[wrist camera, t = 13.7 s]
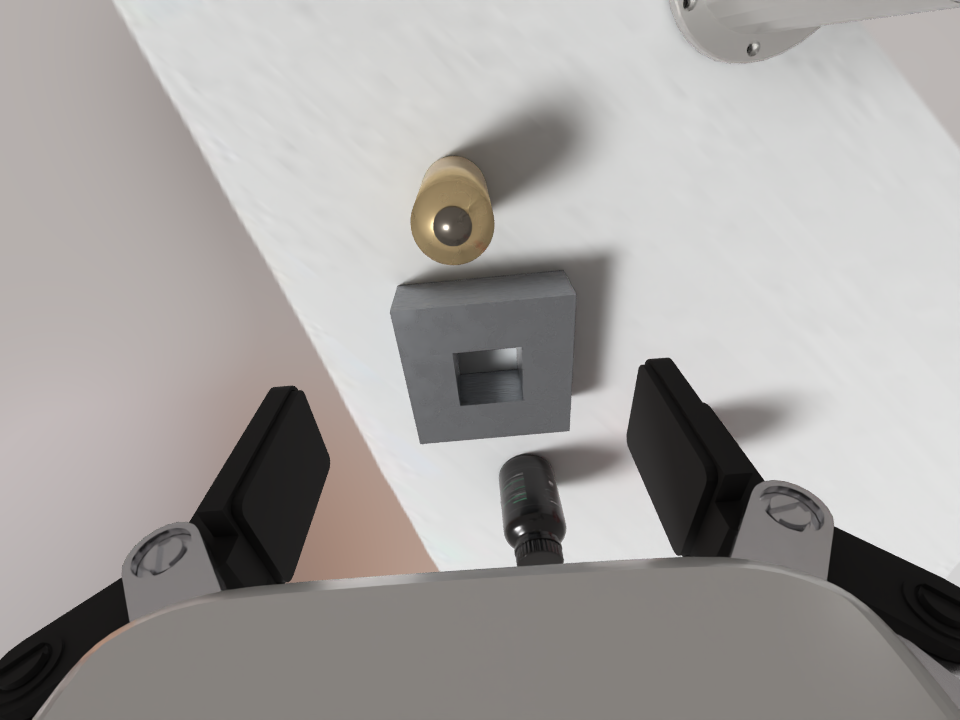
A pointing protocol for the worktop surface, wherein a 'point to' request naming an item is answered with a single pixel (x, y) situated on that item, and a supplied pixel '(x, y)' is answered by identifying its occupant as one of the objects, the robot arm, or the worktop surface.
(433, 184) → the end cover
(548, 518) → the supplement bottle
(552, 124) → the worktop surface
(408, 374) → the housing
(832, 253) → the worktop surface
